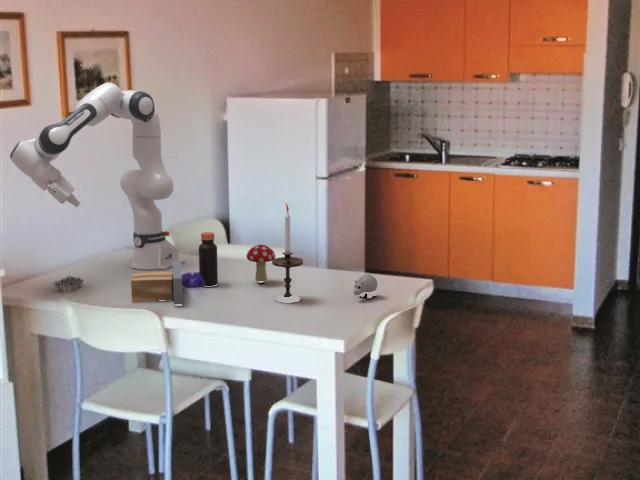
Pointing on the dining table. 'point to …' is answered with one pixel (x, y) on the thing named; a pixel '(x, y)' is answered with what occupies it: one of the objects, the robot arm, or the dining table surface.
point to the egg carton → (68, 284)
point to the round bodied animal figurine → (365, 284)
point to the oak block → (152, 286)
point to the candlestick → (287, 256)
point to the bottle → (208, 259)
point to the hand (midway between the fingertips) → (78, 205)
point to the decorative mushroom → (260, 260)
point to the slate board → (177, 282)
